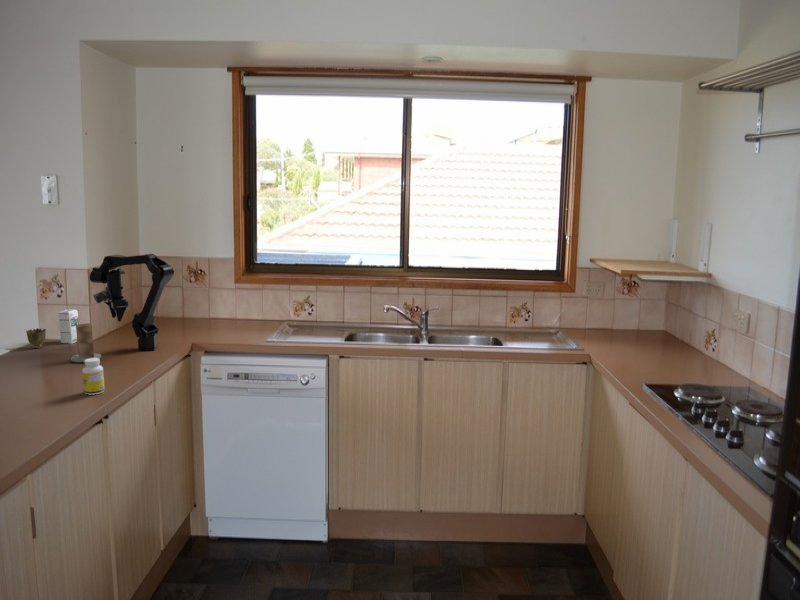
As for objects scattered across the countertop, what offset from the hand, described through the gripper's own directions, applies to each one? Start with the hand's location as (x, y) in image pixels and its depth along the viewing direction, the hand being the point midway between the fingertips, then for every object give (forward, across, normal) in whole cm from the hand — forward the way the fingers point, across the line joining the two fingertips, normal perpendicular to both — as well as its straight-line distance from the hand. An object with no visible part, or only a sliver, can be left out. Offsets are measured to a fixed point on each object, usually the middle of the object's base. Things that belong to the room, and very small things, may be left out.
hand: (116, 319), depth 289 cm
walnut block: (+11, +16, -16) cm, 25 cm away
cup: (+12, -17, -29) cm, 36 cm away
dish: (+12, +16, -16) cm, 26 cm away
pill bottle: (+12, +63, -23) cm, 68 cm away
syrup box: (+12, -21, -15) cm, 29 cm away
